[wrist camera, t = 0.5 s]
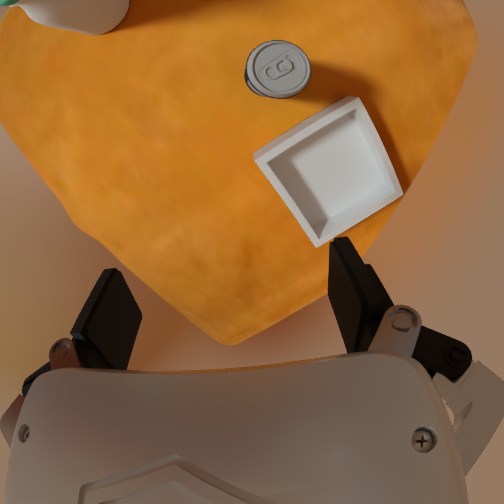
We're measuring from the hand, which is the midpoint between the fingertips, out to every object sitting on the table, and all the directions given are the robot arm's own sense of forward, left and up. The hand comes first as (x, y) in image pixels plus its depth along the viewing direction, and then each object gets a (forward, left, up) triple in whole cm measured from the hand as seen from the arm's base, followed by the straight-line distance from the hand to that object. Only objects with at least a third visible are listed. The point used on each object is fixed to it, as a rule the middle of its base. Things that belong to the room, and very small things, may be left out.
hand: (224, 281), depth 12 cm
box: (-9, +9, -26) cm, 29 cm away
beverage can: (-9, -6, -27) cm, 29 cm away
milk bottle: (+1, -29, -27) cm, 39 cm away
